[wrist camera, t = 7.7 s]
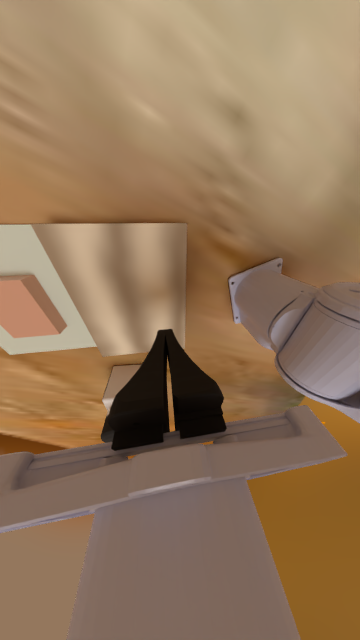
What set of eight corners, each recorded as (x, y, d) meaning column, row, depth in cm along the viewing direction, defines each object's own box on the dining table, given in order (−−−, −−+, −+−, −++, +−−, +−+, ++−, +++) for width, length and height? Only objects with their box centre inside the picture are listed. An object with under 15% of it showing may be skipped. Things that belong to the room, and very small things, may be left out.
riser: (182, 223, 15) (187, 223, 13) (182, 336, 26) (184, 348, 23) (52, 224, 14) (30, 223, 11) (108, 343, 24) (102, 356, 22)
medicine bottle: (112, 365, 28) (88, 438, 18) (146, 363, 29) (140, 431, 19) (119, 383, 32) (101, 450, 22) (148, 380, 33) (144, 444, 24)
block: (-44, 282, 14) (-22, 277, 15) (13, 338, 18) (25, 329, 20) (20, 280, 14) (34, 274, 16) (59, 334, 19) (67, 325, 21)
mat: (49, 224, 14) (47, 224, 14) (106, 344, 24) (105, 345, 24) (-133, 225, 12) (-141, 225, 12) (12, 352, 23) (10, 354, 22)
